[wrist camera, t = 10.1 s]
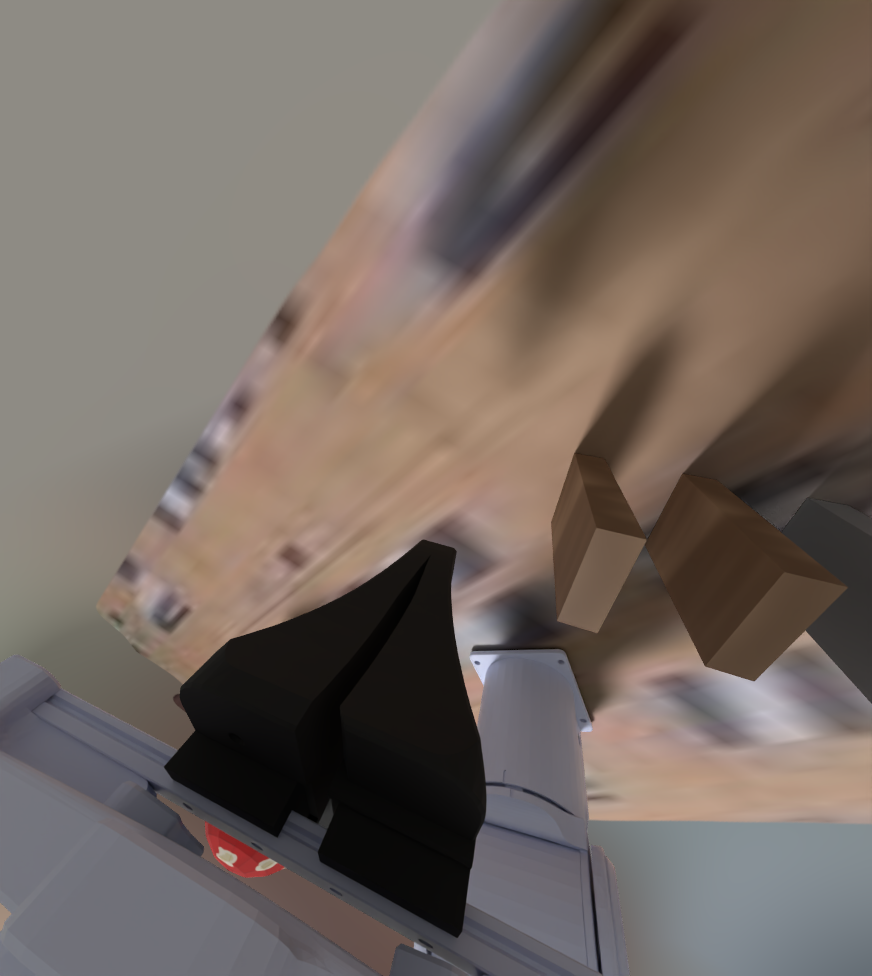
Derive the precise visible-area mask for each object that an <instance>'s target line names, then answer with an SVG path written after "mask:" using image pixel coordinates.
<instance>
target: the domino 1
mask: <svg viewBox="0 0 872 976" xmlns="http://www.w3.org/2000/svg"><path fill="white" fill-rule="evenodd" d="M551 527H552V544H553V561H554V578H555V595H556V612H557V621H558V622H562V623H565V624H568V625H571V626H575V627H578V628H581V629H585V630H588V631H591V632H594V633H598V631H599V630H600V628H601V626H602V624H603V622H604V620H605V618H606V616H607V614H608V613H609V611H610V609H611V607H612V605H613V603H614V601H615V599H616V597H617V596H618V594H619V592H620V590H621V588H622V586H623V584H624V582H625V580H626V578H627V577H628V575H629V573H630V571H631V569H632V567H633V565H634V563H635V561H636V560H637V558H638V556H639V554H640V552H641V550H642V548H643V546H644V544H645V543H646V541H647V539H646V537H645V535H644V533H643V531H642V529H641V527H640V526H639V524H638V522H637V520H636V518H635V516H634V514H633V512H632V510H631V508H630V507H629V505H628V503H627V501H626V499H625V497H624V495H623V493H622V491H621V489H620V487H619V486H618V484H617V482H616V480H615V478H614V476H613V474H612V472H611V470H610V468H609V466H608V465H607V463H606V461H605V459H603V458H598V457H593V456H588V455H582V454H577V453H574V456H573V459H572V462H571V465H570V468H569V471H568V474H567V477H566V480H565V483H564V486H563V489H562V492H561V495H560V498H559V501H558V504H557V507H556V510H555V513H554V516H553V519H552V522H551Z"/></svg>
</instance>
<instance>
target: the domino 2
mask: <svg viewBox="0 0 872 976" xmlns="http://www.w3.org/2000/svg"><path fill="white" fill-rule="evenodd" d="M645 546H646V548H647V550H648V552H649V554H650V556H651V558H652V560H653V562H654V564H655V566H656V568H657V570H658V572H659V575H660V577H661V579H662V581H663V583H664V585H665V587H666V589H667V591H668V593H669V595H670V597H671V599H672V601H673V603H674V605H675V607H676V609H677V611H678V613H679V615H680V617H681V619H682V621H683V623H684V625H685V627H686V629H687V631H688V633H689V635H690V637H691V639H692V641H693V643H694V645H695V647H696V649H697V651H698V653H699V655H700V657H701V659H702V661H703V663H704V665H705V666H706V667H709V668H712V669H715V670H719V671H722V672H725V673H728V674H732V675H735V676H738V677H741V678H745V679H748V680H751V681H755V680H756V679H757V678H758V677H759V676H760V675H761V674H762V673H763V672H764V671H765V670H766V669H767V668H768V667H769V666H770V665H771V664H772V663H773V662H774V661H775V660H776V659H777V658H778V657H779V656H780V655H781V654H782V653H783V652H784V651H785V650H786V649H787V648H788V647H789V646H790V645H791V644H792V643H793V642H794V641H795V640H796V639H797V638H798V637H799V636H800V635H801V634H802V633H803V632H804V631H805V630H806V629H807V628H808V627H809V626H810V625H811V624H812V623H813V622H814V621H815V620H816V619H817V618H818V617H819V616H820V615H821V614H822V613H823V612H824V611H825V610H826V609H827V608H828V607H829V606H830V605H831V604H832V603H833V602H834V601H835V600H836V599H837V598H838V597H839V596H840V595H841V594H842V593H843V592H844V591H845V590H846V589H847V588H848V587H847V586H846V585H845V584H844V583H842V582H841V581H840V580H839V579H837V578H836V577H835V576H834V575H833V574H831V573H830V572H829V571H828V570H826V569H825V568H824V567H823V566H822V565H820V564H819V563H818V562H817V561H815V560H814V559H813V558H812V557H811V556H809V555H808V554H807V553H806V552H804V551H803V550H802V549H801V548H800V547H798V546H797V545H796V544H795V543H793V542H792V541H791V540H790V539H788V538H787V537H786V536H785V535H784V534H782V533H781V532H780V531H779V530H777V529H776V528H775V527H774V526H773V525H771V524H770V523H769V522H768V521H766V520H765V519H764V518H763V517H762V516H760V515H759V514H758V513H757V512H755V511H754V510H753V509H752V508H750V507H749V506H748V505H747V504H746V503H744V502H743V501H742V500H741V499H739V498H738V497H737V496H736V495H735V494H733V493H732V492H731V491H730V490H728V489H727V488H726V487H725V486H724V485H722V484H721V483H720V482H719V481H717V480H714V479H708V478H703V477H698V476H693V475H687V474H682V476H681V477H680V479H679V481H678V483H677V485H676V487H675V489H674V491H673V493H672V494H671V496H670V498H669V500H668V502H667V504H666V506H665V508H664V510H663V511H662V513H661V515H660V517H659V519H658V521H657V523H656V525H655V527H654V528H653V530H652V532H651V534H650V536H649V538H648V540H647V542H646V544H645Z"/></svg>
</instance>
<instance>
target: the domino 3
mask: <svg viewBox="0 0 872 976" xmlns="http://www.w3.org/2000/svg"><path fill="white" fill-rule="evenodd" d="M781 533H782V534H784V535H785V536H786V537H787V538H788V539H790V540H791V541H792V542H793V543H795V544H796V545H797V546H798V547H800V548H801V549H802V550H803V551H804V552H806V553H807V554H808V555H809V556H811V557H812V558H813V559H814V560H815V561H817V562H818V563H819V564H820V565H822V566H823V567H824V568H825V569H826V570H828V571H829V572H830V573H831V574H833V575H834V576H835V577H836V578H837V579H839V580H840V581H841V582H842V583H844V584H845V585H846V586H847V587H848V588H847V589H846V590H845V591H844V592H843V593H842V594H841V595H840V596H839V597H838V598H837V599H836V600H835V601H834V602H833V603H832V604H831V605H830V606H829V607H828V608H827V609H826V610H825V611H824V612H823V613H822V614H821V615H820V616H819V617H818V618H817V619H816V620H815V621H814V622H813V623H812V624H811V625H810V626H809V627H808V628H807V629H806V631H807V633H808V634H809V635H810V636H811V637H812V638H813V639H814V640H815V641H816V643H817V644H818V645H819V646H820V647H821V648H822V649H823V650H824V651H825V652H826V654H827V655H828V656H829V657H830V658H831V659H832V660H833V661H834V662H835V664H836V665H837V666H838V667H839V668H840V669H841V670H842V671H843V672H844V674H845V675H846V676H847V677H848V678H849V679H850V680H851V681H852V682H853V683H854V685H855V686H856V687H857V688H858V689H859V690H860V691H861V692H862V693H863V695H864V696H865V697H866V698H867V699H868V700H869V701H870V702H871V703H872V518H870V517H868V516H867V515H865V514H863V513H861V512H859V511H857V510H856V509H854V508H852V507H850V506H848V505H844V504H838V503H833V502H828V501H822V500H817V499H811V498H807V499H806V500H805V502H804V503H803V504H802V506H801V507H800V508H799V510H798V511H797V512H796V514H795V515H794V516H793V518H792V519H791V520H790V521H789V523H788V524H787V525H786V527H785V528H784V529H783V531H782V532H781Z"/></svg>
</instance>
